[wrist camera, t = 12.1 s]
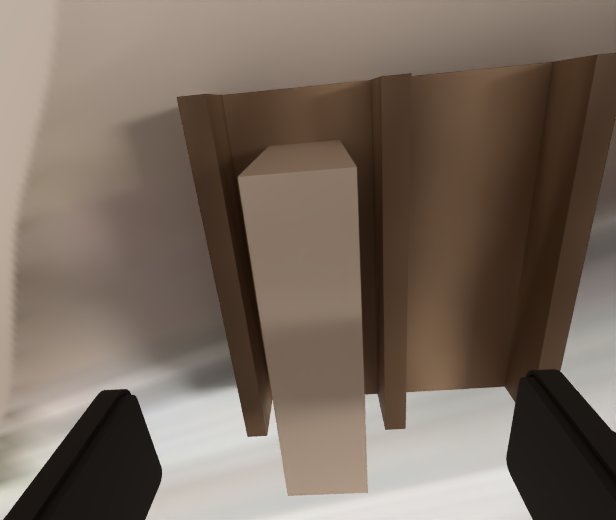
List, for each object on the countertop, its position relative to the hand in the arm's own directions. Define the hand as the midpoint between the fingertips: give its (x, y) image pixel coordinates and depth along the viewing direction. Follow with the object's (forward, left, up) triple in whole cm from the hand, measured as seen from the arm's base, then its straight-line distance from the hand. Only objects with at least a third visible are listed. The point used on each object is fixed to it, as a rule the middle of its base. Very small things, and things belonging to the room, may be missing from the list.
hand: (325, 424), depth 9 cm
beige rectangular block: (0, 0, -10) cm, 10 cm away
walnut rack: (-3, 0, -11) cm, 11 cm away
